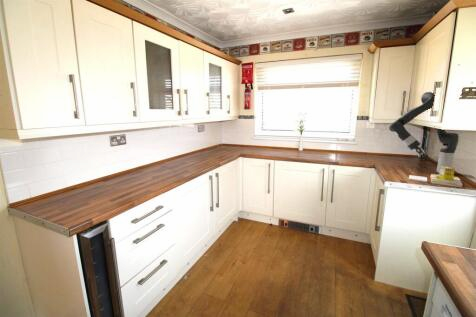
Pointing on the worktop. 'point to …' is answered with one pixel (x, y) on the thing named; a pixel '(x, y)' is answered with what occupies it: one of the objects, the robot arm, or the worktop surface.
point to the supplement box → (446, 173)
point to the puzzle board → (446, 181)
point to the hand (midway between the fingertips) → (428, 158)
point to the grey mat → (418, 178)
